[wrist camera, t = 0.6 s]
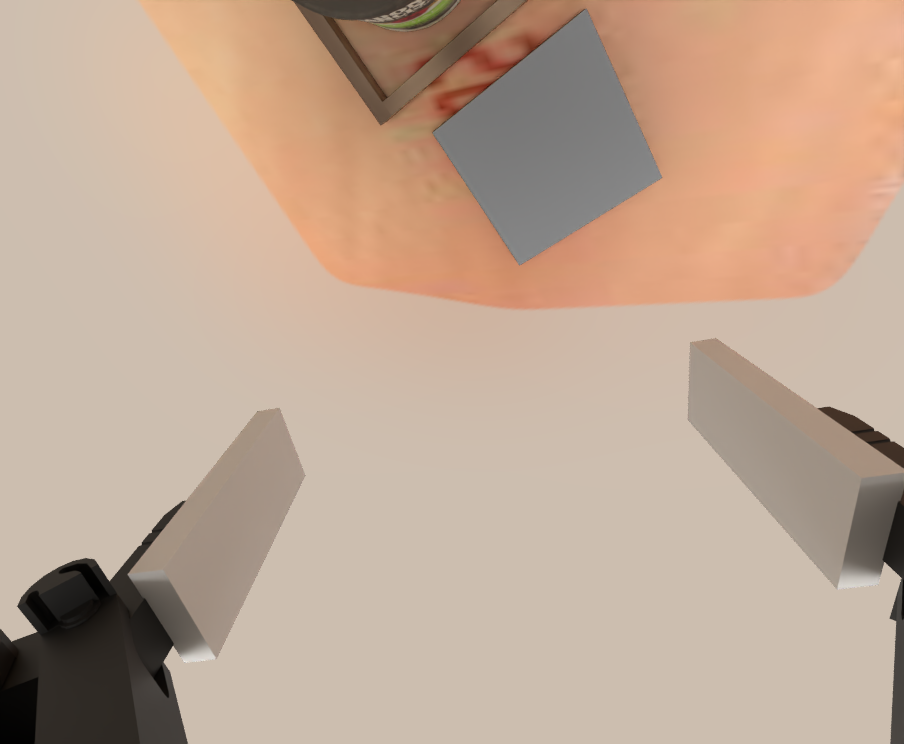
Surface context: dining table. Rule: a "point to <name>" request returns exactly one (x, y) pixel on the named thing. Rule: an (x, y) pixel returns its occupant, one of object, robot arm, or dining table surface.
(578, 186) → the mat
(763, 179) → the dining table surface
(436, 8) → the coffee can
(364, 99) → the square picture frame
